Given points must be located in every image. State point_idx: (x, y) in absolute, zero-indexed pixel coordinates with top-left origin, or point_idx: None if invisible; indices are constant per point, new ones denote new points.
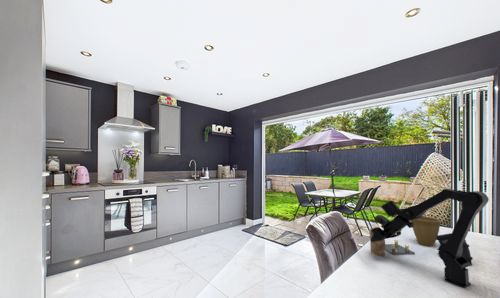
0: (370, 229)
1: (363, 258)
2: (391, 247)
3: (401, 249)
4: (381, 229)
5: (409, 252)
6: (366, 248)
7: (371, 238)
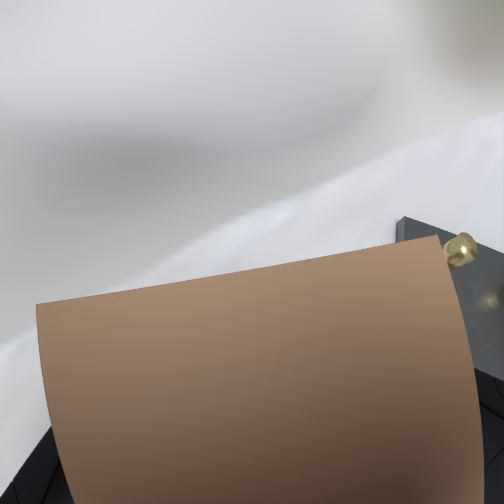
0: (47, 327)
1: (12, 415)
2: (467, 317)
3: (498, 372)
4: (476, 478)
5: None
6: (242, 241)
7: (44, 443)
